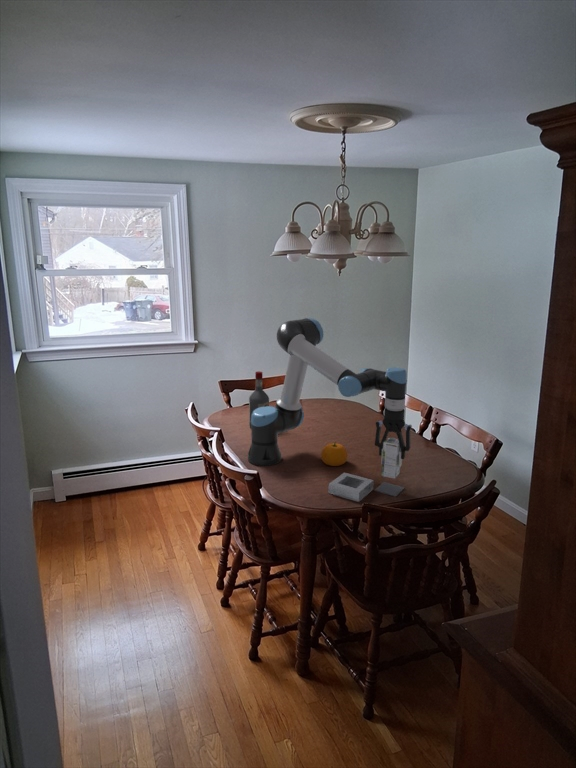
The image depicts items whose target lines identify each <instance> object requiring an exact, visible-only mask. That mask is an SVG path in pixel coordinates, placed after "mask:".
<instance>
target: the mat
mask: <svg viewBox="0 0 576 768" xmlns="http://www.w3.org/2000/svg"><path fill="white" fill-rule="evenodd" d="M373 490H374V492H377V493H381V494H384V495H388V496H391V497H395V498H396V497H397V496H398V495H399V494H400V493H402V491H404V490H405V486H401V485H396V484H394V483H393V484H392V483H389V482H385V481H383V482H382V483H381V484H379V486H377V487H376V488H375V489H373Z"/></svg>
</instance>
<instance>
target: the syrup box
mask: <svg viewBox="0 0 576 768" xmlns="http://www.w3.org/2000/svg"><path fill="white" fill-rule="evenodd" d="M400 449H401V448H400V444H399V440H398V438H394V437H387V438H386V440H385V441H384V443H383V459H382V465H381V476H382V477H384V478H389V479H397V477H398V476H399V475H400V474H401V473H400V471H401V467H398V463H399V451H400Z"/></svg>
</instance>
